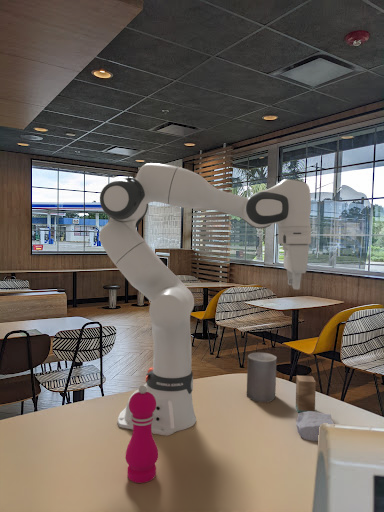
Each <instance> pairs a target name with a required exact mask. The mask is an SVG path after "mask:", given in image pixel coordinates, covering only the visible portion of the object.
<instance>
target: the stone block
mask: <svg viewBox="0 0 384 512" xmlns="http://www.w3.org/2000/svg"><path fill="white" fill-rule="evenodd" d="M295 423H296V424H295V427H296V430H297V433H298V434H299V436H300V437H301V438H302V439H304V440H308V441H313V442H319V441H318V435H319V427H320V425H321V424H323V423H328V424H334V422H333V420H332V415H331V414H330V413H323V412H320V411H315V412H314V411H307V412H302V413H298V414H297V418H296V421H295Z"/></svg>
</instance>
